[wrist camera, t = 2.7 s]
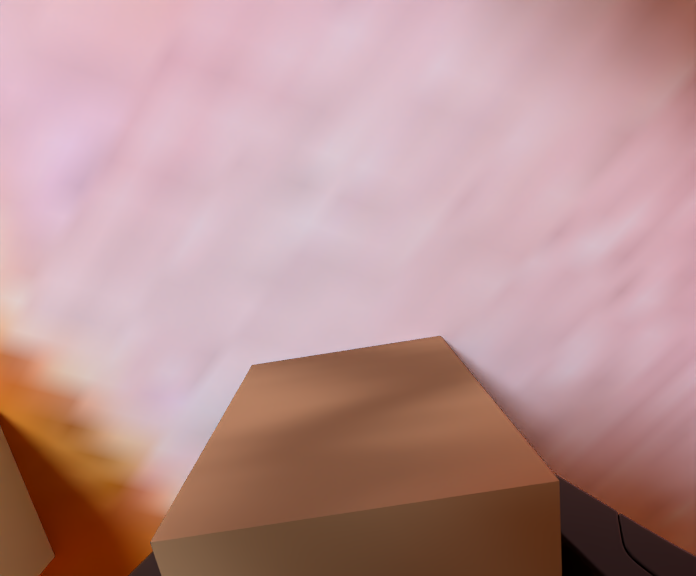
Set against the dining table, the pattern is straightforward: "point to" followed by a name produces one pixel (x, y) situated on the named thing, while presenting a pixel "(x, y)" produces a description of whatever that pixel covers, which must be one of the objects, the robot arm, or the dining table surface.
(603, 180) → the dining table surface
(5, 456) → the sage cube
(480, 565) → the walnut cube
